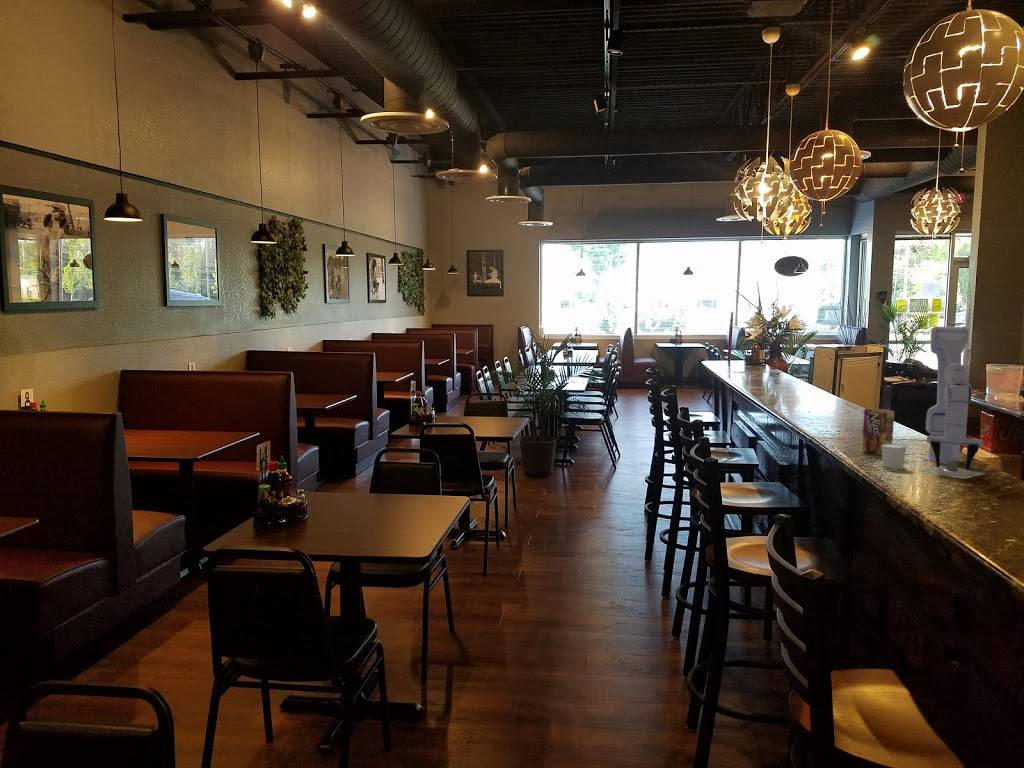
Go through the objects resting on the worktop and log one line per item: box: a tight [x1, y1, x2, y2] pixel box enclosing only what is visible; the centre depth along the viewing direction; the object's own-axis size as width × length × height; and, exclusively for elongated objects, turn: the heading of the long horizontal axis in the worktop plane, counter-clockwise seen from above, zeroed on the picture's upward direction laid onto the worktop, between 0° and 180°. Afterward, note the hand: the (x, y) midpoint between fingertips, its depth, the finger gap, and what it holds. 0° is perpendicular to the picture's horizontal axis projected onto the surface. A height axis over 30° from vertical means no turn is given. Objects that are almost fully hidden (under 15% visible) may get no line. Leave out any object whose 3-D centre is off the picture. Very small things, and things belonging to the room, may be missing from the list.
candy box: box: [861, 407, 895, 456], centre depth 253 cm, size 9×4×15 cm, turn 26°
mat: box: [919, 464, 986, 480], centre depth 225 cm, size 13×13×1 cm
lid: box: [933, 459, 972, 476], centre depth 225 cm, size 10×10×4 cm
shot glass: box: [881, 443, 907, 470], centre depth 232 cm, size 7×7×7 cm
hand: (952, 467), depth 225 cm, fingers open, 7 cm apart
